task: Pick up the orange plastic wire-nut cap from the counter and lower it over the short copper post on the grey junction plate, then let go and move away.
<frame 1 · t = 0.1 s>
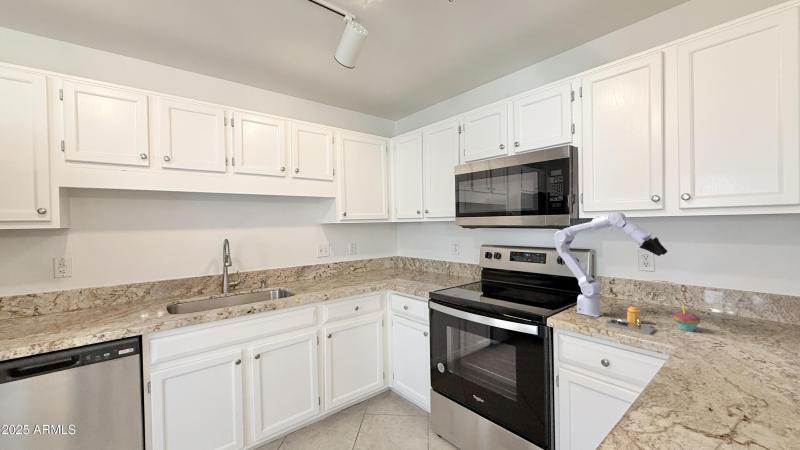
hand: (663, 253, 134), 32 cm above the worktop, tool tilted 50°, fingers open, 7 cm apart
cupcake: (686, 329, 134), on the worktop
wire nut: (633, 322, 144), on the worktop
junction plate: (630, 327, 138), on the worktop
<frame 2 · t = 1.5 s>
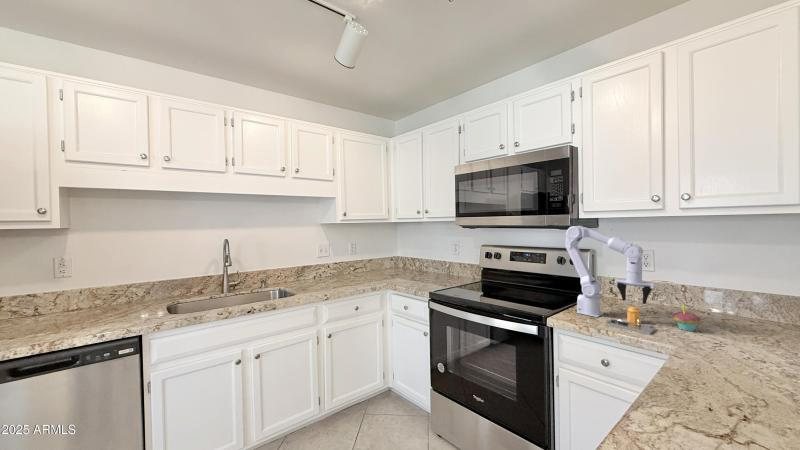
hand: (634, 301, 144), 9 cm above the worktop, tool pointing down, fingers open, 7 cm apart
nothing on the worktop moved.
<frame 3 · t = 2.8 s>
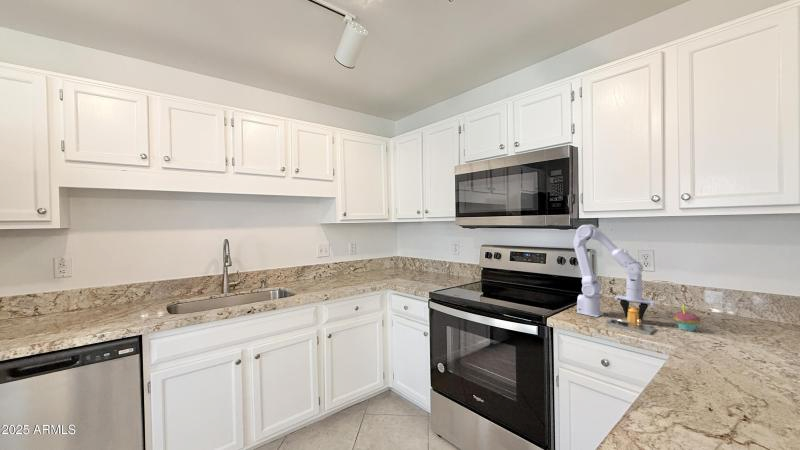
hand: (633, 318, 144), 2 cm above the worktop, tool pointing down, fingers closed on wire nut, 5 cm apart
wire nut: (633, 322, 144), on the worktop, touching gripper
everything else where it was.
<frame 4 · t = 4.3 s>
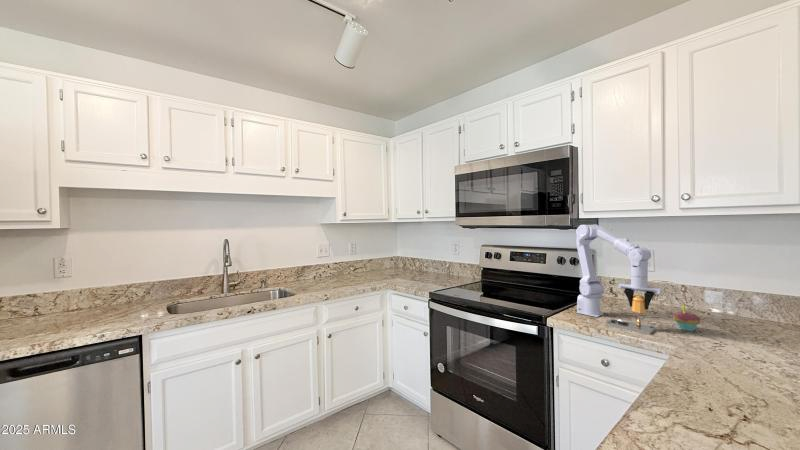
hand: (639, 307, 136), 9 cm above the worktop, tool pointing down, fingers closed on wire nut, 5 cm apart
wire nut: (639, 311, 136), point 7 cm above the worktop, touching gripper
everything else where it was.
when the fingers open (4 cm above the worktop, at t = 5.9 s): wire nut drops 1 cm, resting on junction plate.
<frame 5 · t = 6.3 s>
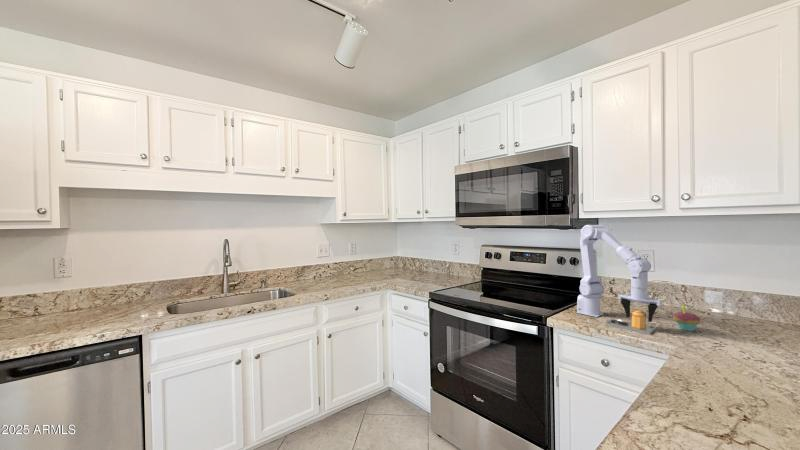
hand: (638, 319, 136), 4 cm above the worktop, tool pointing down, fingers open, 7 cm apart
wire nut: (638, 326, 136), point 1 cm above the worktop, touching junction plate
everything else where it was.
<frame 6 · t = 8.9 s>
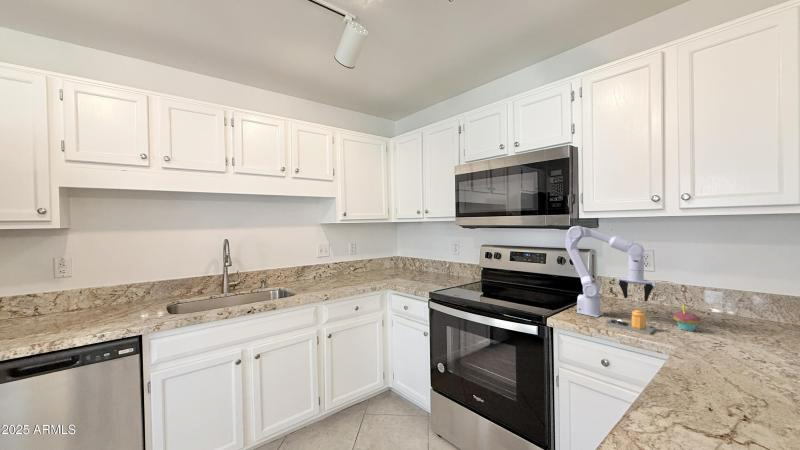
hand: (635, 299, 145), 10 cm above the worktop, tool pointing down, fingers open, 7 cm apart
nothing on the worktop moved.
at the end: wire nut 0.0 cm from the target spot, point 1.0 cm above the worktop; wire nut tilted 0°; the gripper is holding nothing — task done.
